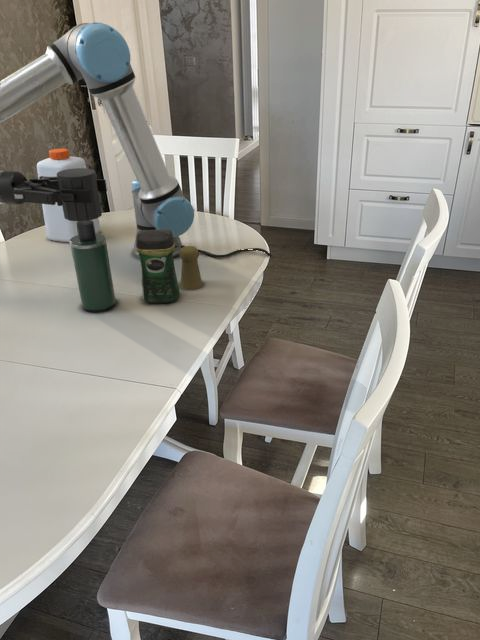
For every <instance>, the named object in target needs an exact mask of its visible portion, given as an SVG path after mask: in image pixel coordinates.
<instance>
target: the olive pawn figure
mask: <svg viewBox="0 0 480 640" xmlns="http://www.w3.org/2000/svg"><path fill="white" fill-rule="evenodd" d="M184 246H185V247H183V248H181V249H180V252H179V255H178V256H179V258H180V259H181V267H180V268H181V270H180V288H181V289H184V290H187V291H188V290H189V291H190V290H197V289H200V288H201V287H202V286H203V282H202V276H201V271H200V266H199V262H198V258H199V257H200V255H199V253H200V252H198V249H199V248H197V247H196V246H195V245H194V246H193V245H184Z"/></svg>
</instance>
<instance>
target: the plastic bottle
mask: <svg viewBox="0 0 480 640" xmlns="http://www.w3.org/2000/svg"><path fill="white" fill-rule="evenodd" d="M48 156H49V157H48V158H45V159H42V160H40V161H38V162H37V164H36V171H37V172H36V173H37V179H39V177H40V176H45V177H57V173H58V172H60V171H62V170H67V169H74V168H87V165H86V161H85V159H84V158H82V157H79V156H71V155H70V150H69V149H67V148H53V149H50V150H49V151H48ZM55 203H56V204H55V205H48V204H41V205H42V206H41V207H42V213H43V220H44V227H45V235H46V238H48V239H49V240H50V241H53V242H54V241H55V242H62V243H69V244H70V239H71V238H72V237H74V236H76V235H78V231H77V226H76V223H77V222H79V221H69V220H67V219H65V217H64V212H63V207H62V206H58V205H57V202H55ZM91 221H93V222H94V228H95V233H99V234H100V232H101V230H102V229H101V223H100V218H97V219H93V220H91Z"/></svg>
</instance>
